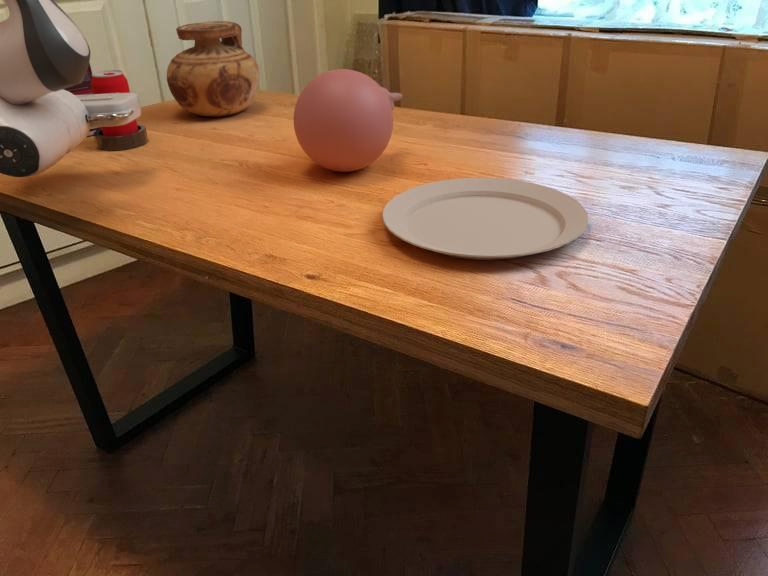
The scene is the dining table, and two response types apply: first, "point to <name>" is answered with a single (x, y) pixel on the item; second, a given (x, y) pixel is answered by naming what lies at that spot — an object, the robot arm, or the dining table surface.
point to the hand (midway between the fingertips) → (87, 99)
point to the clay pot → (213, 70)
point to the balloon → (344, 119)
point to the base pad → (121, 140)
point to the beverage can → (113, 84)
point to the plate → (485, 218)
